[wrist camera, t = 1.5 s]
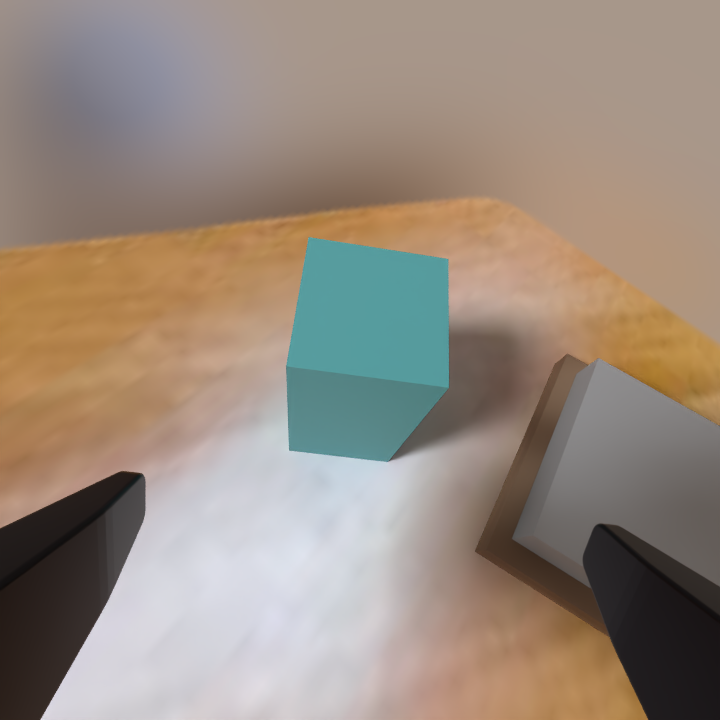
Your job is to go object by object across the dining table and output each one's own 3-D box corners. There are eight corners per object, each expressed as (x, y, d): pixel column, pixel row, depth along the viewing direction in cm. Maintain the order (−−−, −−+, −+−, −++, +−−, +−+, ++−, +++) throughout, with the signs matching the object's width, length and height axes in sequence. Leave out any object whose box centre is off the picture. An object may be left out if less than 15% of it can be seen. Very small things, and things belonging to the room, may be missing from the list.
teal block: (387, 461, 23) (449, 387, 14) (289, 450, 22) (286, 366, 13) (392, 372, 25) (448, 258, 16) (303, 360, 24) (308, 237, 16)
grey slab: (717, 668, 19) (761, 677, 18) (511, 538, 20) (532, 535, 19) (747, 471, 24) (785, 462, 22) (576, 373, 25) (598, 358, 23)
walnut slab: (701, 699, 20) (740, 711, 19) (470, 551, 22) (486, 549, 20) (737, 475, 26) (770, 468, 24) (549, 368, 27) (567, 353, 25)
